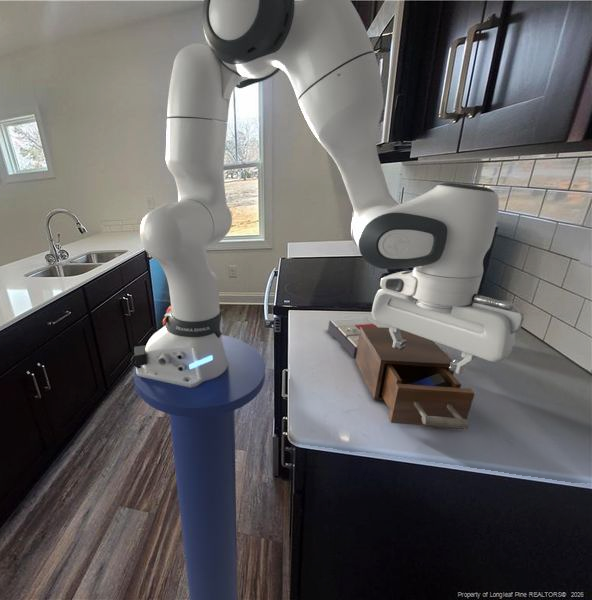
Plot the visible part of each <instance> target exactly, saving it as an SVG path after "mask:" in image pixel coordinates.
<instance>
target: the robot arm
mask: <svg viewBox="0 0 592 600" xmlns="http://www.w3.org/2000/svg"><path fill="white" fill-rule="evenodd" d="M201 19H202V28H203V34H204V37H205V41H203V42H195V43H191V44H188V45H186V46H184V47H183V48H181V49H180V50H179V52H178V53H177V54H176V56H175V58H174V60H173V65H172V69H171V74H170V75H171V76H170V81H169V90H168V97H167V108H166V109H167V110H166V113H167V114H166V138H165V141H166V143H165V163H166V167H167V169H168V171H169V172H170V173H171V175H172V176H173V178H174V181H175V184H176V190H177V196H178V198H177V201H172V202H165V203H163V204H161V205H159V206H158V207H156V208H154V209H152V210H151V211H149V212H147V213H146V215H145V216H144V217H143V218H142V221H141V223H140V227H139V239H140V241H141V242H140V243H141V245H142V247H143V248H144V250H145V252H146V253H147V254H148V255H149V256H150V257H151V258H152V259H154V260H155V261H157V263H158V264H159V265H160V267H161V268H162V271H163V273H164V275H165V277H166V281H167V285H168V292H169V299H170V305H169V306H168V308H167V309H166V313H165V314H164V316H163V319H162V327H161V328H160V329H158V330H157V331H155V332H154V333H153V334H152V335H151V336H150V338H149V339H148V341H147V343H146V345H139V346H138V345H137V346H134V347H133V349H134V351H133V352H134V354H133V355H132V357H131V359H130V363H131V365H132V367H134V368H135V367H136V373H137V375H138V376H140V377H144V378H149V379H153V380H158V381H163V382H167V383H172V384H176V385H181V386H186V387H191V388H192V387H196V386H198V385H199V384H201V383H202V382H204V381H207V380H210V379H213V378H216V377H218V376H219V375H221V374H222V373H223V372H224V371H225V370H226V369H227V367H228V360H227V358H226V355H225V352H224V348H223V343H222V336H221V335H223V315H222V310H221V308H220V283H219V282H220V281H219V278H218V276H217V274H215V273H214V272H213V271H212V270H211V266H210V265H209V261H208V256H207V249H209V248H211V247H213V246H216V245H217V244H219V243H220V242H221V241H223V239H224V238H225V237H226V236H227V235H228V233H229V232H230V230H231V228H232V224H233V216H232V212H231V209H230V207H229V206H228V203H227V197H226V187H225V177H224V175H225V174H224V172H225V171H224V168H225V167H224V165H225V153H226V141H227V132H228V120H229V109H230V102H231V97H232V94H233V92H234V89H235V88H237V89H244V88H246V87H248V86H252V85H254V84H257V83H261V82H264V81H266V80H268V79H271V78H273V77H274V76H276V75H277V74H278V73H279V72H280V71H281V70H282V71H283V72H284V73H285V74H286V75H287V77H288V79H289V81H290V83H291V86H292V88H293V91H294V93H295V97H296V99H297V102H298V105H299V108H300V110H301V112H302V114H303V116H304V118H305V120H306V122H307V124H308V126H309V128H310V130H311V132H312V133H313V135H314V137H316V139H317V141H318V142H319V143H320V144H321V146H322V147H323V148H324V149H325V151H326V152H327V153H328V154H329V156H330V157H331V158H332V160H333V161H334V162H335V165H336V166H337V168H338V170H339V173H340V175H341V178H342V181H343V184H344V187H345V190H346V192H347V196H348V198H349V202H350V204H351V208H352V218H351V225H350V235H351V240H352V242H353V243H354V245H355V246H356V248H357V249H358V251H359V253H360V255H361V257H362V258H363V260H365V261H366V262H367V263H368V265H371V266H373V267H375V268H378V269H381V270H397V269H410V268H411V269H412V268H413V269H412V270H403V271H402V270H401V271H398V272H395V273H391V274H388V275H385V276H383V277H382V278H380V283H379V284H380V285H379V286H380V289H378V290H377V292H376V293H375V296H374V300H373V303H372V307H371V316H372V318H373V320H374V321H375V322H378V323H381V324H384V325H386V326H389V327H388V328H389V332H390V334H391V336H392V339H393V346H392V347H393V348H395V349H398V350H402V349H404V348H405V346H406V345H405V344H406V341H407V340H404V339H402V336H401V333H400V330H403V331H406V332H409V333H412V334H415V335H417V336H420V337H423V338H426V339H429V340H431V341H434V342H435V343H436V344H437V343H438V344H441V345H443V346H445V347H448V348H452V349H454V350H457V351H459V352H461V355H460V357H462V358H463V359H461V360H460V359H457V358H455V359H453V360H452V362H451V363H450V368H449V371H452V372H454V373H455V374H456V375H461V374H462V373H464V371H465V368H466V366H467V364H468V363H470V362H471V361H473V360H474V359H476V358H479V359H482V360H485V361H488V362H490V363H498V362H501V361H503V360H505V359H507V358H508V357H510V355H511V354H512V352H513V348H514V345H515V340H516V332H518V331H520V329H521V328H522V325H523V323H524V320H525V314H524V312H523V311H522V310H521V309H520V308H519V307H518V306H515V304H514V303H513V302H511V301H508V300H499V299H496V298H492V297H489V296H485V295H481V294H478V293H479V289H480V285H481V281H482V278H483V276H484V275H483V274H484V258H485V256H486V254H487V252H489V250H490V248H491V246H492V243H493V241H494V236H495V233H496V232H495V231H496V227H497V222H498V216H499V210H500V209H499V208H500V201H499V195H498V194H497V192H495V190H493V189H491V188H489V187H487V186H481V185H480V186H479V185H474V184H473V185H472V184H463V183H454V182H443V183H438V184H437V185H436V186H435V187H433V188H432V189H430V190H428V191H427V192H425V193H423V194H420V195H418V196H417V197H414V198H412V199H410V200H408V201H404V202H402V203H399V202H397V200H395V198H394V197H393V196H392V194H391V192H390V190H389V187H388V183H387V181H386V177H385V174H384V171H383V170H384V169H383V167H382V164H381V161H380V158H379V152H378V146H377V138H378V137H377V136H378V130H379V126H380V121H381V117H382V113H383V109H384V103H385V102H384V101H385V99H384V90H383V82H382V76H381V70H380V66H379V63H378V60H377V59H378V58H377V56H376V53H375V51H374V47H373V44H372V42H371V39H370V37H369V34H368V31H367V29H366V27H365V24H364V22H363V20H362V18H361V16H360V14H359V12H358V11H357V9H356V7H355V6H354V4H353V2H352V1H351V0H301V1H298V2H297V1H295V0H203V4H202V16H201Z"/></svg>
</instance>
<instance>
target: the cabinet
mask: <svg viewBox="0 0 592 600" xmlns="http://www.w3.org/2000/svg"><path fill="white" fill-rule="evenodd" d="M400 333H401V336H402V339H404V340H407V341H406V344H405V345H406V346H405V348H404V349H402V350H398V349H395V348H393V347H392V346H393V339H392V336H391V334H390V332H389V327H381V326H380V327H379V326H377V327H360V334H359V341H358V348H357V355H356V359H355V363H356V366H357V368H358V370H359V372H360V374H361V376H362V378H363V380H364V382H365V385H366V387H367V389H368V391H369V393H370V395H371V397H372V400H373V401H379V402H385V401H384V399H383V397H382V395H381V393H380V387H381V382H382V377H383V371H384V366H385V364H398V365H415V366H432V367H445V368H446V369H447V370H448V371H449V368H450V363H451V362H452V361H453V359H452V358H451V357H450V356H448V354H447V353H446V352H445V351H444V350H443V349H442V348H441V347H440V346H439V345H438V344H437V342H434V341H431V340H429V339H426V338H423V337H420V336H417V335H415V334H412V333H409V332H406V331H403V330H400ZM449 372H450V373H451V374H452V375H453V376H454V372H452V371H449Z"/></svg>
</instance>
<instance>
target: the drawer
mask: <svg viewBox="0 0 592 600" xmlns="http://www.w3.org/2000/svg"><path fill="white" fill-rule="evenodd" d="M438 373H439V374H440V375H441V377H442V378H443V379H444V380H445V382H446V383H447V385H448V386H449V387H438V386H424V385H410V384H411V383H414V382H416V381H419V380H421V379H424V378H427V377H430V376H433V375H435V374H438ZM380 393H381V395H382V397H383V399H384V401H383V402H384V403H385V405H386V406H387V409H388V410H389V414H388V420H389V422H390V423H391V424H400V425H410V426H419V427H431V428H442V429H453V430H461V431H463V430H464V429H469V427H470V422H469V421H468V416H469V413H470V410H471V407H472V403H473V400H474V398H475V394H476V392H475V391H473V389H471V388H467V387H466V388H465V387H462V384H461V382H460V381H459V380H458V379H457V378H456V377H455V376H454V374H453V375H452V374H451V373H450V372H449V371H448V370H447V369H446V368H445V367H432V366H415V365H398V364H385V366H384V371H383V377H382V382H381V387H380Z"/></svg>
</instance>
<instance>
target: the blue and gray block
mask: <svg viewBox="0 0 592 600" xmlns="http://www.w3.org/2000/svg"><path fill="white" fill-rule="evenodd" d="M410 385H424V386H438V387H449V386H448V385H447V383H446V382H445V380H444V379H443V378H442V377H441V375H440V374H439V373H438V374H435V375H433V376H430V377H427V378H424V379H421V380H419V381H416V382H414V383H411V384H410Z"/></svg>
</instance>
